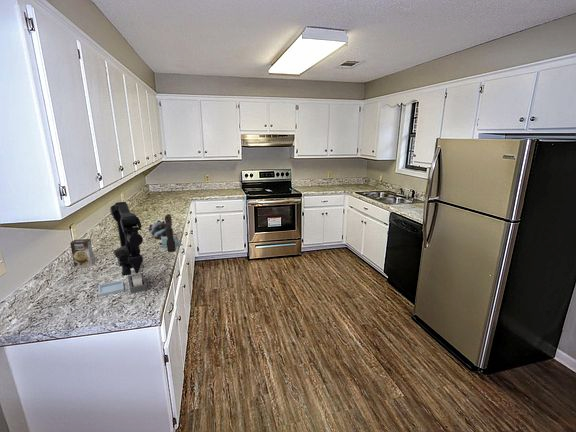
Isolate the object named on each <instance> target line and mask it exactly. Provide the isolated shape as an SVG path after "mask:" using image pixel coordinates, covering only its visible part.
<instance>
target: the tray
mask: <svg viewBox="0 0 576 432" xmlns="http://www.w3.org/2000/svg"><path fill="white" fill-rule="evenodd" d="M97 286H98V289H97V290H98V297H99V298H100V297H101V298H102V297H105V296H109V295H114V294H119V293H123V292H125V289H124V287H125V286H124V282H123V279H122V280H118V281H113V282H107V283H102V284H98V285H97Z"/></svg>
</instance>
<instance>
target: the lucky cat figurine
mask: <svg viewBox="0 0 576 432" xmlns="http://www.w3.org/2000/svg"><path fill="white" fill-rule="evenodd" d="M147 231H148V232H149V233H150V234H151V235H152V236H153V237H154V239H156V240H160V239H161V237H166V223H165V220H162V221H161V220H157V221H154V223H151V224H149V227H148V228H147Z"/></svg>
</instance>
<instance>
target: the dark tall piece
mask: <svg viewBox="0 0 576 432" xmlns="http://www.w3.org/2000/svg"><path fill="white" fill-rule="evenodd" d="M164 222H165V223H166V235H165V236H163V237H161V238H160V239H161V242H159V246H158V247H159V248H160V249H161V248H162V249H166V248H167V253H174V252H176V248H177V247H181V246H184V245H183V243H181V242H180V240H179V238H178V237H177V236H174V232H173V228H172V227H173V226H172V225H173V221H172V215H171V214H170V213H167V214H166V215H165V216H164Z"/></svg>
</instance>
